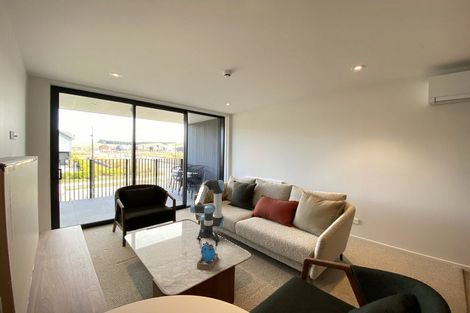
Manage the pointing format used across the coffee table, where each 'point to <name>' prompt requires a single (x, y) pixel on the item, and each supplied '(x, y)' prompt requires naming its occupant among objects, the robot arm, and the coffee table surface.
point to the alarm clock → (207, 252)
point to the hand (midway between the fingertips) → (208, 248)
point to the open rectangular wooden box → (206, 263)
